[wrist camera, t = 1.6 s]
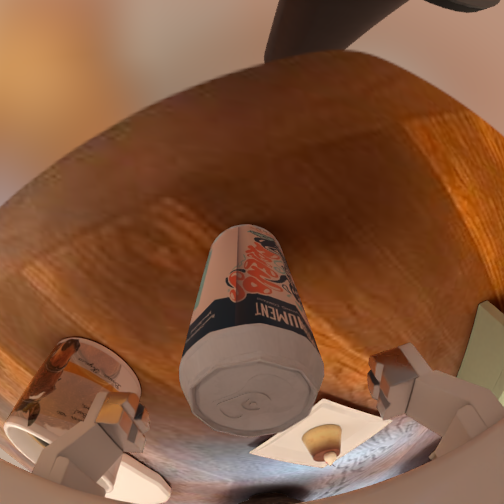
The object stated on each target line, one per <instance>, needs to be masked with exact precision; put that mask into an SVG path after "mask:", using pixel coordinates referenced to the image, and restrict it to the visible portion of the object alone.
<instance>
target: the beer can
mask: <svg viewBox="0 0 504 504" xmlns="http://www.w3.org/2000/svg"><path fill="white" fill-rule="evenodd" d="M323 377H324V363H323V361H322V359H321V356H320V353H319V350H318V348H317V345H316V342H315V339H314V336H313V333H312V331H311V328H310V325H309V322H308V319H307V317H306V314H305V311H304V308H303V306H302V303H301V300H300V297H299V295H298V292H297V289H296V287H295V284H294V281H293V278H292V276H291V273H290V270H289V268H288V265H287V262H286V260H285V257H284V254H283V252H282V249H281V247H280V244H279V242H278V241H277V240H276V238H275V237H274V235H272V234H271V233H270V232H269V231H267V230H266V229H264V228H261V227H258V226H256V225H250V224H244V225H237V226H233V227H231V228H229V229H227V230H225V231H224V232H222V233H221V234H220V235H219V236H218V237H217V238H216V239H215V241H214V242H213V244H212V246H211V248H210V252H209V255H208V259H207V263H206V266H205V270H204V273H203V277H202V281H201V284H200V288H199V292H198V296H197V299H196V303H195V307H194V311H193V315H192V319H191V323H190V327H189V331H188V335H187V339H186V343H185V347H184V351H183V355H182V359H181V363H180V367H179V380H180V385H181V388H182V390H183V392H184V395H185V397H186V399H187V401H188V403H189V405H190V407H191V412H192V413H193V414H194V415H195V416H196V417H198V418H199V419H200V420H201V421H203V422H204V423H205V424H206V425H208V426H209V427H210V428H212V429H213V430H214V431H219V432H223V433H227V434H232V435H237V436H242V437H247V438H248V437H255V436H262V435H269V434H275V433H281V432H284V431H285V430H287V429H289V428H290V427H292V426H294V425H295V424H297V423H298V422H300V421H302V420H303V419H305V418H306V417H308V416H309V414H310V412H311V410H312V407H313V405H314V402H315V400H316V397H317V394H318V391H319V389H320V386H321V383H322V380H323Z"/></svg>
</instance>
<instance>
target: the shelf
mask: <svg viewBox="0 0 504 504" xmlns="http://www.w3.org/2000/svg"><path fill="white" fill-rule="evenodd" d="M457 378H459V379H462V380H465V381H467V382H470V383H473V384H476V385H478V386H481V387H484V388H487V389H489V390H491V392H492V393H493V394H494V395H495V397H496V398H497V399H498V401H499V402H500V403H501V405H502V406H503V407H504V314H503V313H502V312H501V311H499V310H498V309H497V308H496V307H495V306H494V305H492V304H491V303H490V302H489V301H485V302H483V303H480V304H479V306H478V310H477V314H476V318H475V322H474V325H473V329H472V333H471V336H470V339H469V343H468V346H467V349H466V352H465V355H464V358H463V361H462V364H461V367H460V370H459V372H458V375H457Z"/></svg>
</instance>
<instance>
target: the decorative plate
mask: <svg viewBox="0 0 504 504" xmlns="http://www.w3.org/2000/svg"><path fill="white" fill-rule="evenodd" d="M171 490H172V489H171V488H170V486H169V485H168V484H167V483H166V482H165V480H164V479H163V478H162V477H161V476H160V475H159V474H158V473H156V472H154V471H153V470H151V469H149V468H148V467H146V466H145V465H143V464H141V463H140V462H138V461H137V460H135V459H134V458H132V457H131V456H129V455H128V454H126V453H123V456H122V460H121V463H120V467H119V471H118V474H117V478H116V482H115V486H114V489H113V491H112V492H110V493H106V494H105V497H106V498H110V499H115V500H120V501H125V502H131V503H137V504H158V503H162V502H166V501H167V500H168V499H169V497H170V496H171Z"/></svg>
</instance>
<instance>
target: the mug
mask: <svg viewBox="0 0 504 504" xmlns="http://www.w3.org/2000/svg"><path fill="white" fill-rule="evenodd" d="M100 391H103V392H133V393H136V394H137V396H138V397H139V399H140V397H141V387H140V383H139V381H138V379H137V377H136V375H135V373H134V372H133V371H132V369H131V368H130V367H129V366H128V365H127V364H126V363H125V362H124V361H123V360H122V359H121V358H120V357H119V356H118V355H116V354H115V353H114V352H112V351H111V350H109V349H108V348H106V347H104V346H102V345H100V344H98V343H96V342H94V341H91V340H88V339H83V338H76V337H72V338H67V339H64V340H62V341H60V342H59V343H58V344H57V345H56V346H55V348H54V349H53V350H52V352H51V353H50V354H49V356H48V357H47V359H46V360H45V361H44V363H43V364H42V366H41V367H40V369H39V370H38V371H37V373H36V374H35V376H34V377H33V379H32V380H31V382H30V383H29V385H28V386H27V388H26V389H25V391H24V392H23V394H22V395H21V397H20V399H19V400H18V402H17V403H16V405H15V407H14V408H13V410H12V412H11V413H10V415H9V417H8V418H7V420H6V422H5V423H4V431H5V433H6V435H7V437H8V438H9V439H10V441H11V442H12V443H13V444H14V445H15V447H16V448H17V449H18V450H19V451H20V452H21V453H23V454H24V455H25V456H26V457H27V458H28V459H30V460H31V461H32V462H33V463H35V464H36V462H37V460H38V458H39V456H40V454H41V451H42V450H43V449H44V448H45V447H47V446H48V445H50V444H51V443H52V442H54V441H55V440H56V439H58V438H59V437H60V436H62V435H63V434H64V433H66V432H67V431H68V430H70V429H71V428H72V427H74V426H75V425H76V424H78V423H79V422H80V421H83V422H84V420H85V418H86V415H87V413H88V411H89V409H90V407H91V405H92V403H93V401H94V399H95V397H96V395H97V393H99V392H100ZM123 453H124V452H123ZM122 456H123V454H122V455H121V456H120V457H119V458H118V459H117V460H116V462H115V463H114V464H113V465H112V466H111V467H110V468H109V469H108V470H107V471H106V473H105V474H104V475H103V476H102V477H101V478H100V479H99V480H98V481H97V482H96V483H98V484H99V485H100V486H101V487H103V488H104V489H105V491H106V493H110V492H112V491H113V489H114V486H115V482H116V478H117V474H118V471H119V467H120V463H121V460H122Z"/></svg>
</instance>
